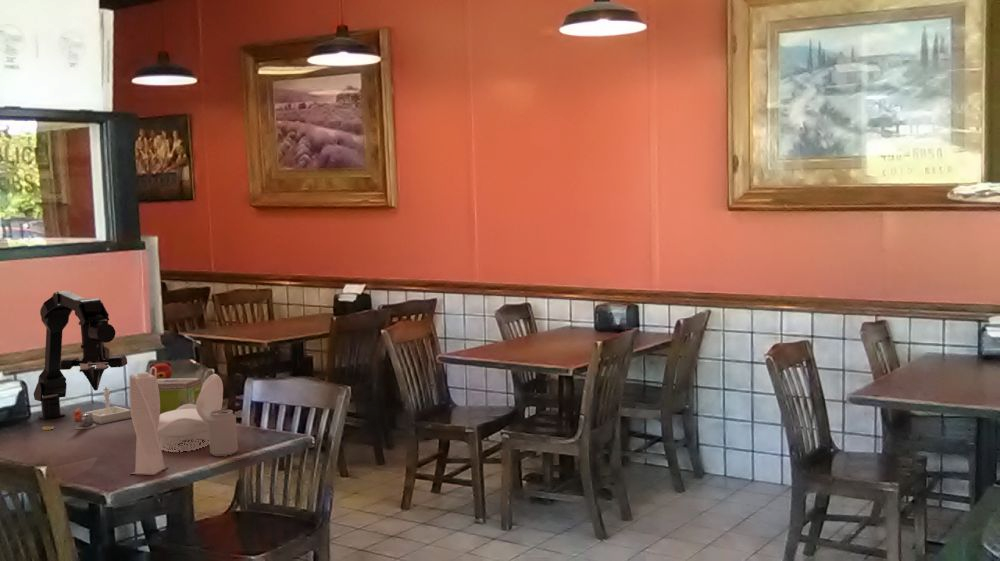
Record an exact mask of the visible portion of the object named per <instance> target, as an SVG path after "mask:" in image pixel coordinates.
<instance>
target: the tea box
mask: <svg viewBox="0 0 1000 561" xmlns="http://www.w3.org/2000/svg"><path fill="white" fill-rule="evenodd" d="M157 382H158V389H159V396H160V414H162V413H165V412H168V411H172V410H176V409H177V408H179V407H180V406H182V405H185V404H194V405H196V401H197V398H198V396H199V394H200V392H201V388H202V385H203V383H202V377H183V378H181V377H179V378H178V377H177V378H173V377H171V378H170V379H157ZM202 404H203V402H202ZM192 407H193V406H192ZM202 407H203V406H202ZM183 409H184V408H183ZM190 409H191V407H190Z"/></svg>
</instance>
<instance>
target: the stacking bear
mask: <svg viewBox="0 0 1000 561" xmlns="http://www.w3.org/2000/svg"><path fill="white" fill-rule="evenodd" d="M152 367H155V368H156V369H157V375H156V377H157V379H170V378H172V374H173V371H172V368H171V367H172V364H171V362H165V363H163V362H159V363H156V364H155V363H151V364H150V365H149V369H151V368H152ZM151 375H153V376H155V369H154V368H153V369H152V374H151Z"/></svg>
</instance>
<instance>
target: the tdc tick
mask: <svg viewBox="0 0 1000 561" xmlns="http://www.w3.org/2000/svg"><path fill="white" fill-rule="evenodd" d="M41 429H42V431H50V430H51V429H53V430H54V425H43V426H42V428H41Z"/></svg>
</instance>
